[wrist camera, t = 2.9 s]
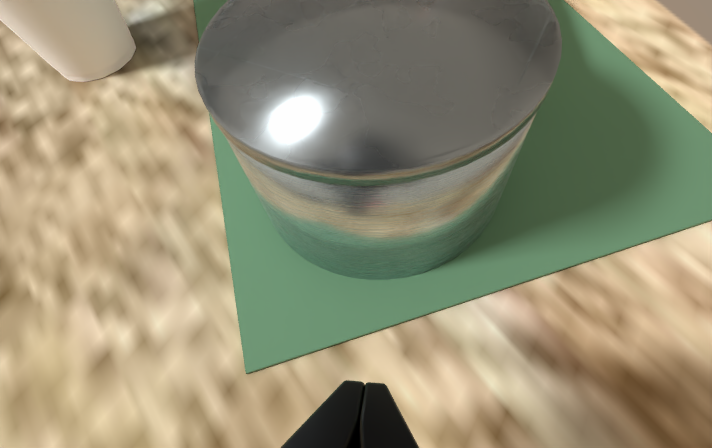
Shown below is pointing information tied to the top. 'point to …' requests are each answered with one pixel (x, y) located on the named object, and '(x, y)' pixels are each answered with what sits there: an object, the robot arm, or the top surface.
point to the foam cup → (72, 34)
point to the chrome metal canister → (378, 119)
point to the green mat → (511, 217)
